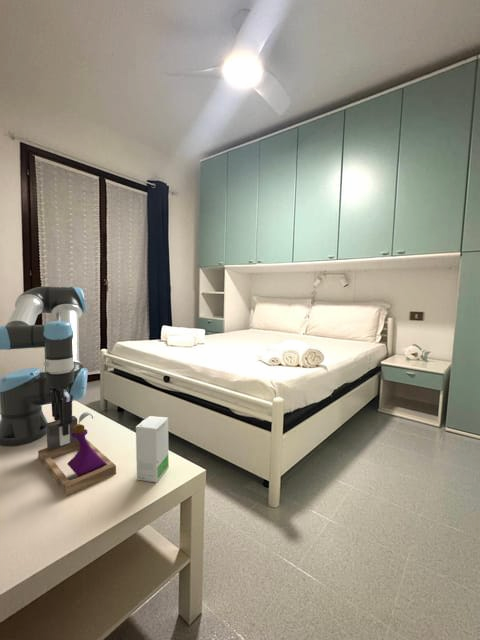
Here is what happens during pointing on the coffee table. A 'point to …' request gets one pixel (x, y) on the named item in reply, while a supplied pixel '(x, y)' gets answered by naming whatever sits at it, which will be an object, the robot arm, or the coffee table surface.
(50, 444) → the strip frame
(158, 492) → the coffee table surface
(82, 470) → the perfume bottle
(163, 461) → the skincare box
